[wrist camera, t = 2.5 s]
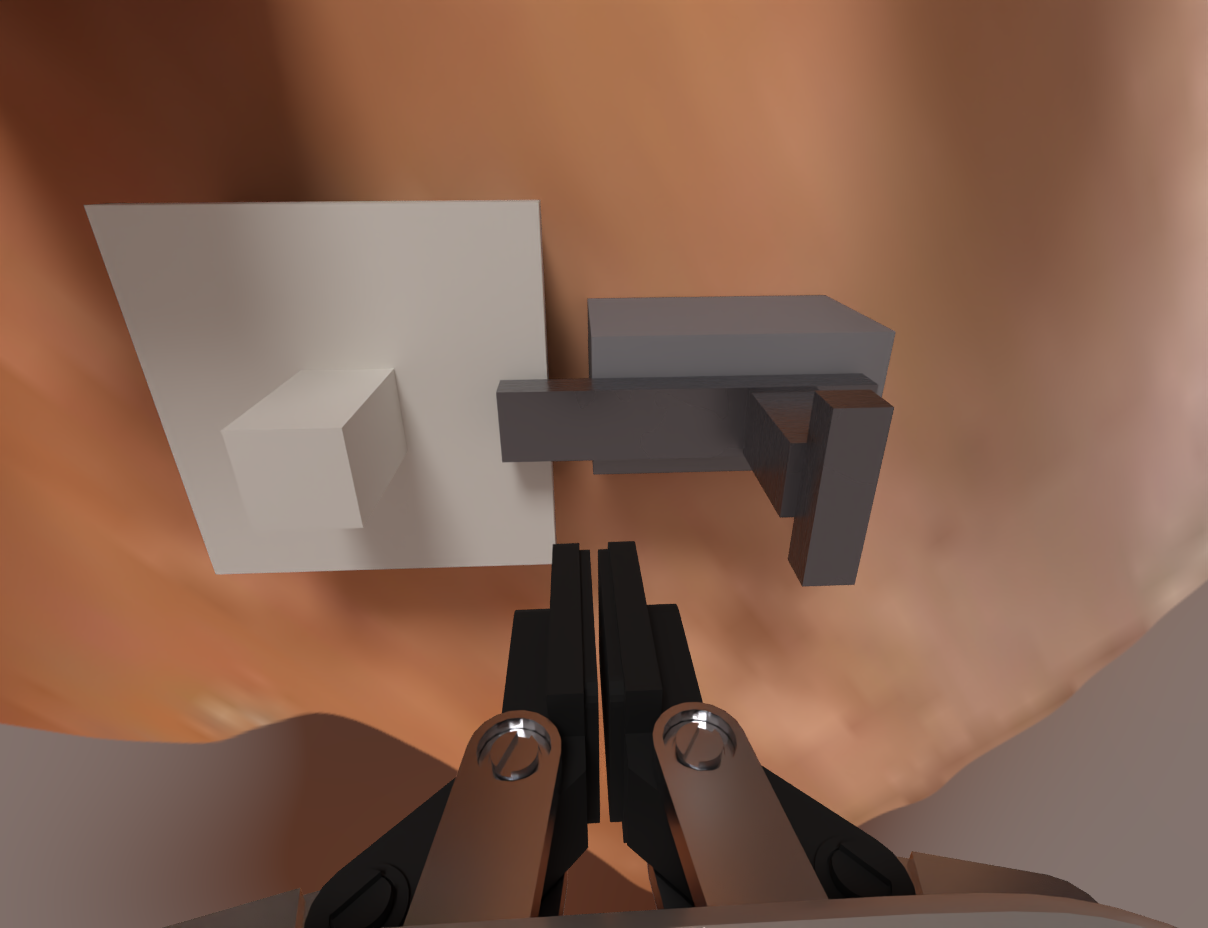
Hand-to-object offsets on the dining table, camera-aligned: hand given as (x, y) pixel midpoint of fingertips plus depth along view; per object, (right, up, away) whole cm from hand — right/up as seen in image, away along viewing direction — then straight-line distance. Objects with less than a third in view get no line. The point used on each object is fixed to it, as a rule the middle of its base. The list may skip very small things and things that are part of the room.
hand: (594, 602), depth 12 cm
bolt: (+3, +5, +8) cm, 10 cm away
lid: (-8, +5, +9) cm, 13 cm away
